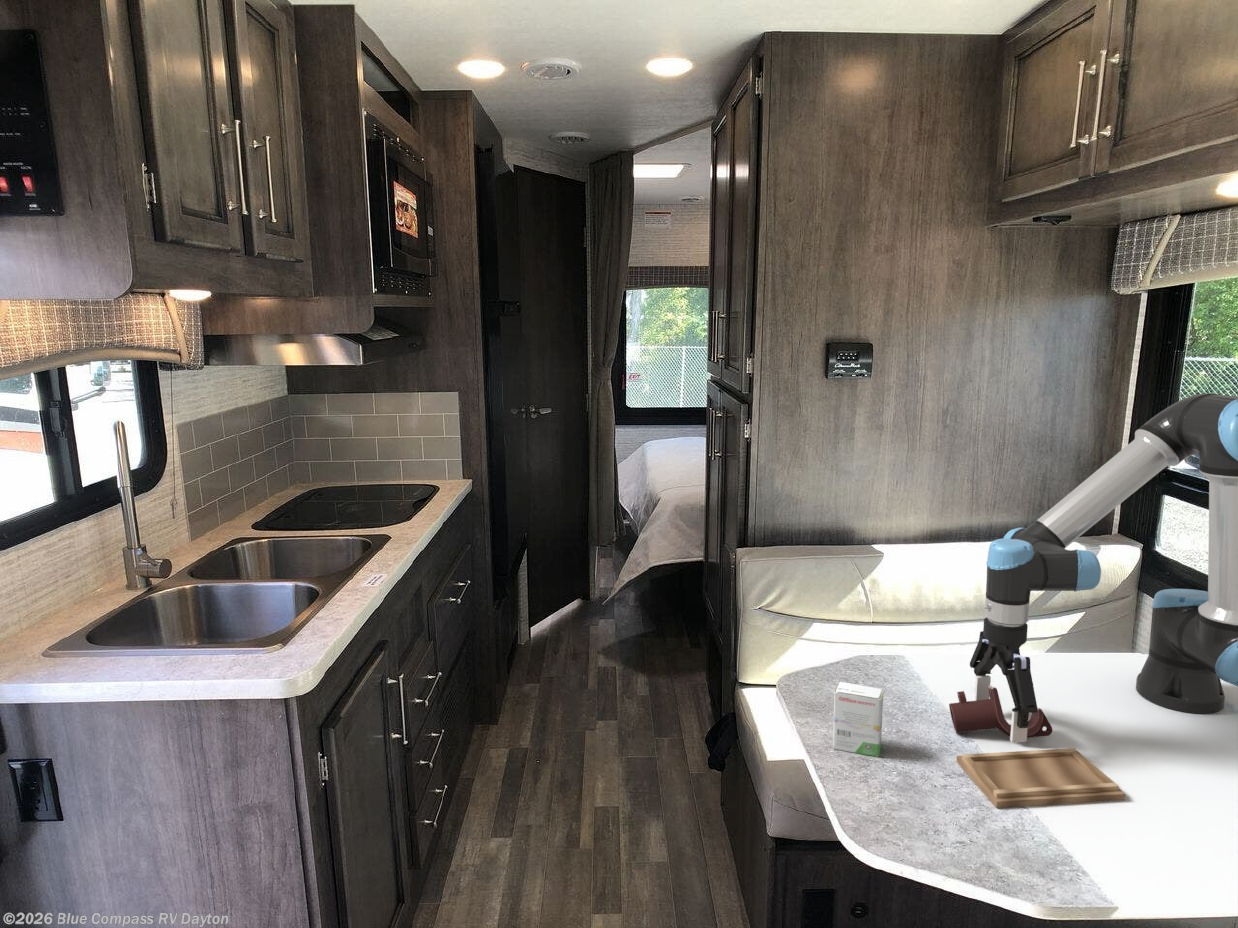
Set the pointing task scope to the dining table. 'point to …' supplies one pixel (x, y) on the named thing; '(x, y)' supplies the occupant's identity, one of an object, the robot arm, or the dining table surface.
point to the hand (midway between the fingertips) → (999, 723)
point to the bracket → (992, 716)
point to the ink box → (857, 719)
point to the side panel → (1039, 778)
